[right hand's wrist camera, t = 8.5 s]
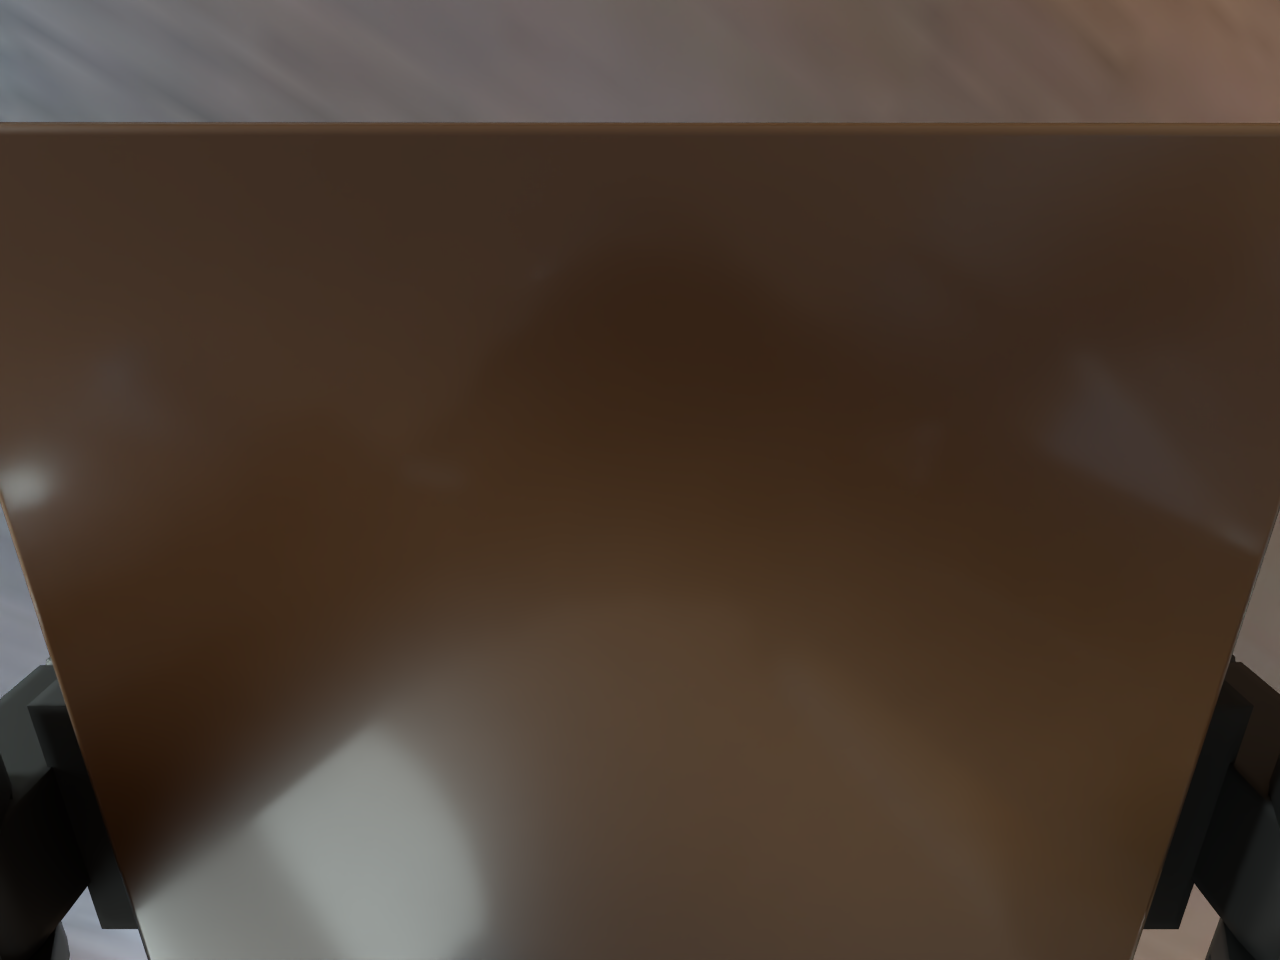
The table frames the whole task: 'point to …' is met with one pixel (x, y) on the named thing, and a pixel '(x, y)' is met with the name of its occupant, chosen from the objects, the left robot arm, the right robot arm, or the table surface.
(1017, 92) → the table surface
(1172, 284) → the brown wooden beam
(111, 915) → the right robot arm
